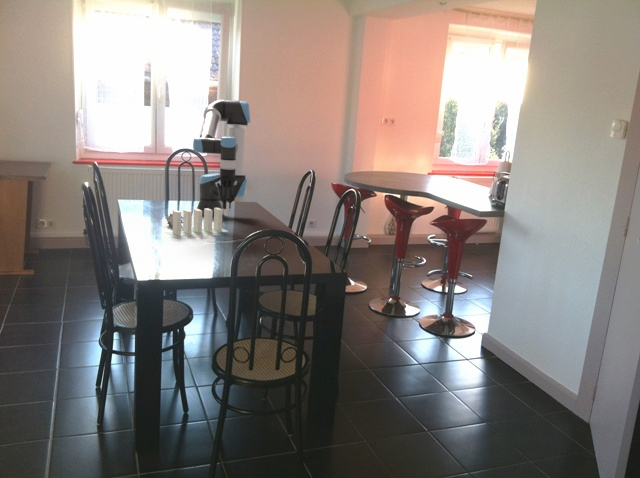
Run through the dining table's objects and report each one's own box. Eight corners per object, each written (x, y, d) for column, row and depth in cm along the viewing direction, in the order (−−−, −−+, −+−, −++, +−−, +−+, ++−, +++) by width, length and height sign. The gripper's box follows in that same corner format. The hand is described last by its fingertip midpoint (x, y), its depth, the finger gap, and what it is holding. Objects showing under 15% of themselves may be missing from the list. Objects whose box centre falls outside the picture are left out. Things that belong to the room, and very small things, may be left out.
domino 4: (207, 229, 296) (207, 208, 293) (212, 232, 292) (212, 210, 290) (203, 230, 295) (204, 208, 292) (208, 232, 291) (208, 210, 288)
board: (220, 229, 303) (220, 227, 302) (229, 233, 296) (229, 231, 296) (164, 234, 285) (164, 232, 284) (172, 238, 278) (172, 236, 277)
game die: (172, 236, 298) (163, 222, 291) (169, 226, 304) (160, 213, 298) (188, 227, 299) (180, 213, 293) (184, 218, 306) (176, 204, 299)
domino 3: (197, 230, 292) (197, 208, 290) (201, 232, 289) (202, 210, 286) (193, 230, 291) (193, 209, 289) (198, 233, 287) (198, 210, 285)
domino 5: (217, 229, 299) (217, 207, 297) (221, 231, 295) (222, 209, 293) (213, 229, 298) (214, 207, 295) (218, 231, 294) (218, 209, 292)
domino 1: (176, 232, 286) (176, 210, 283) (180, 234, 282) (181, 212, 280) (172, 232, 285) (172, 210, 282) (176, 235, 281) (177, 212, 278)
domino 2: (186, 231, 289) (187, 209, 287) (191, 233, 285) (191, 211, 283) (183, 231, 288) (183, 209, 285) (187, 234, 284) (188, 211, 282)
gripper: (235, 167, 299) (233, 213, 304) (212, 167, 291) (211, 214, 297) (243, 169, 293) (241, 215, 299) (219, 169, 286) (218, 217, 291)
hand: (226, 215), depth 298 cm, fingers closed
